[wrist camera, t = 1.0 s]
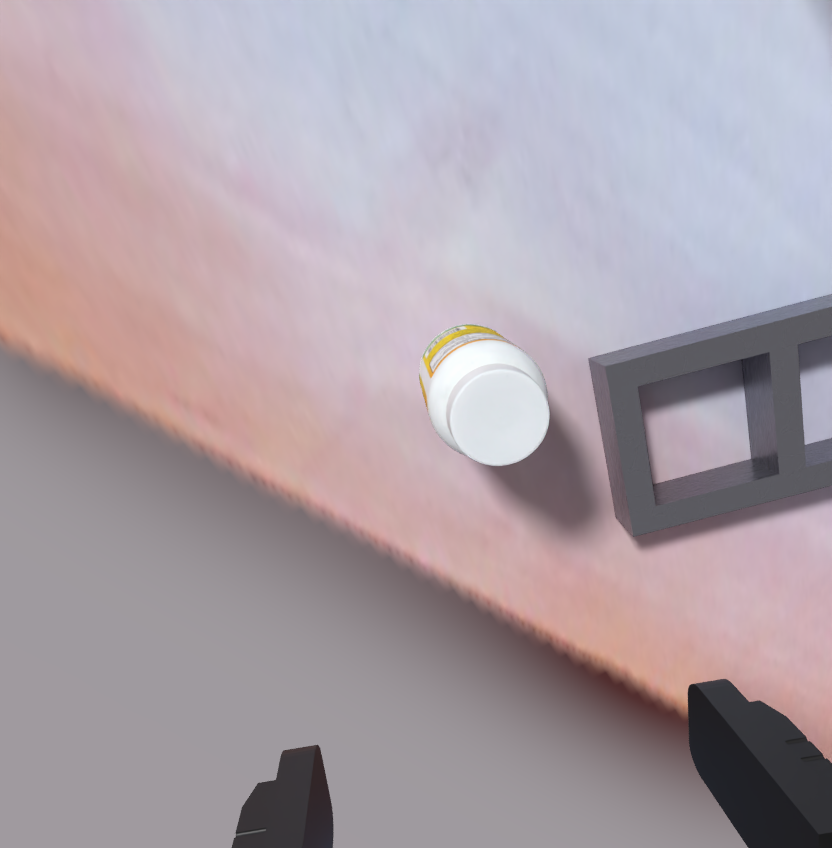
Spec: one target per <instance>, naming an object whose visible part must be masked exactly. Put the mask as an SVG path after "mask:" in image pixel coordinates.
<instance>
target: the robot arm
mask: <svg viewBox="0 0 832 848" xmlns="http://www.w3.org/2000/svg"><path fill="white" fill-rule="evenodd" d="M688 718H689V744H690V745H689V746H690V751H691V755H692V758H693V761H694V764H695V766H696V769H697V771H698V773H699V775H700V776H701V778H702V779H703V781H704V783H705V784H706V785H707V787H708V788H709V790H710V791H711V793H712V794H713V796H714V797H715V799H716V800H717V802H718V803H719V805H720V806H721V808H722V809H723V811H724V812H725V814H726V815H727V817H728V818H729V820H730V821H731V823H732V824H733V826H734V827H735V829H736V830H737V831H738V833H739V834H740V836H741V837H742V839H743V840H744V842H745V843H746V845H747V846H748V848H832V763H831V762H830V761H829V760H828V759H825V758H824V757H823V754H822V753H821V752H820V751H819V750H818V749H817V748H816V747H815V746H814V745H813V744H812V743H811V742H810V741H809V742H808V741H807V739H806V736H805V735H804V734H803V733H802V732H801V731H800V730H799V729H798V728H797V727H796V726H795V725H794V724H793V723H792V722H791V721H790V720H789V719H788V718H787V717H786V716H784V715H783V714H781V713H780V712H778V711H776V710H775V709H773V708H771V707H770V706H768V705H766V704H765V703H763V702H761V701H754V702H749V701H748V700H747V699H746V698H745V697H744V696H743V695H742V694H741V693H740V692H739V691H738V689H737V688H736V687H735V686H734V685H733V684H732V683H731V682H730V681H728V680H726V679H720V680H714V681H708V682H702V683H696V684H691V685H690V686H689V688H688ZM232 848H333V812H332V805H331V799H330V794H329V789H328V784H327V779H326V774H325V770H324V764H323V760H322V755H321V750H320V747H319V746H318V745H314V746H308V747H302V748H296V749H290V750H284V751H283V752H282V754H281V758H280V763H279V768H278V773H277V778H276V780H274V781H268V782H262V783H258V784H257V786H256V787H255V789H254V790H253V792H252V793H251V795H250V796H249V798H248V799H247V801H246V802H245V804H244V805H243V807H242V810H241V814H240V818H239V822H238V826H237V830H236V838H234V841H233V845H232Z"/></svg>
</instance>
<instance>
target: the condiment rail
mask: <svg viewBox="0 0 832 848" xmlns="http://www.w3.org/2000/svg"><path fill="white" fill-rule="evenodd" d="M828 336H832V294H831V295H827V296H823V297H819V298H815V299H812V300H808V301H804V302H800V303H796V304H793V305H789V306H785V307H781V308H777V309H774V310H770V311H766V312H762V313H759V314H755V315H751V316H747V317H743V318H740V319H736V320H732V321H728V322H724V323H721V324H717V325H713V326H709V327H706V328H702V329H698V330H694V331H690V332H687V333H683V334H679V335H675V336H671V337H668V338H664V339H660V340H656V341H652V342H649V343H645V344H641V345H637V346H634V347H630V348H626V349H622V350H618V351H615V352H611V353H607V354H603V355H599V356H596V357H592V358H588V359H589V365H590V370H591V376H592V382H593V388H594V393H595V399H596V405H597V411H598V417H599V422H600V428H601V434H602V440H603V445H604V451H605V457H606V463H607V469H608V474H609V480H610V486H611V492H612V497H613V503H614V509H615V515H616V518H617V519H618V520H619V521H620V523H621V524H622V525H623V526H624V527H625V528H626V529H627V530H628V531H629V532H630V534H631V535H632V536H633V537H634V536H638V535H642V534H646V533H649V532H653V531H657V530H661V529H665V528H669V527H673V526H677V525H680V524H684V523H688V522H692V521H696V520H700V519H704V518H708V517H711V516H715V515H719V514H723V513H727V512H731V511H735V510H739V509H742V508H746V507H750V506H754V505H758V504H762V503H766V502H770V501H773V500H777V499H781V498H785V497H789V496H793V495H797V494H800V493H804V492H808V491H812V490H816V489H820V488H824V487H828V486H831V485H832V438H831V439H827V440H823V441H819V442H816V443H812V444H808V445H805V444H804V430H803V415H802V400H801V385H800V370H799V355H798V344H802V343H805V342H809V341H813V340H817V339H821V338H824V337H828ZM741 359H742V365H743V375H744V386H745V396H746V407H747V417H748V427H749V438H750V448H751V459H750V460H746V461H742V462H739V463H735V464H731V465H727V466H723V467H719V468H715V469H712V470H708V471H704V472H700V473H696V474H692V475H689V476H685V477H681V478H677V479H673V480H669V481H665V482H662V483H658V484H654V485H652V478H651V471H650V465H649V458H648V451H647V445H646V438H645V431H644V425H643V418H642V411H641V405H640V398H639V391H638V386H642V385H646V384H649V383H653V382H657V381H661V380H665V379H668V378H672V377H676V376H680V375H684V374H687V373H691V372H695V371H699V370H703V369H707V368H710V367H714V366H718V365H722V364H726V363H729V362H733V361H737V360H741Z"/></svg>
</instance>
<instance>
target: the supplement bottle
mask: <svg viewBox="0 0 832 848" xmlns="http://www.w3.org/2000/svg"><path fill="white" fill-rule="evenodd" d="M419 379H420V385H421V389H422V393H423V396H424V399H425V403H426V407H427V410H428V414H429V417H430V420H431V423H432V425H433V427H434V429H435V431H436V433H437V434H438V435H439V437H440V438H441V439H442V440H443V441H444V442H445V443H446V444H447V445H448V446H449V447H451V448H452V449H454V450H455V451H457V452H459V453H461V454H463V455H466V456H468V457H469V458H471V459H473V460H474V461H476V462H479V463H482V464H485V465H490V466H504V465H509V464H513V463H516V462H519V461H521V460H523V459H524V458H526V457H528V456H529V455H530V454H531V453H533V452H534V451H535V450H536V449H537V448H538V446H539V445H540V444H541V442H542V441H543V439H544V437H545V435H546V432H547V429H548V426H549V419H550V412H549V405H548V396H547V387H546V383H545V379H544V377H543V374H542V372H541V370H540V369H539V367H538V365H537V364H536V363H535V362H534V360H533V359H532V358H531V357H530V356H529V355H528V354H527V353H525V352H524V351H523V350H522V349H520V348H519V347H517V346H516V345H514V344H513V343H511V342H510V341H508V340H507V339H505V338H504V337H502V336H501V335H500V334H498V333H497V332H495V331H494V330H492V329H490V328H487V327H485V326H481V325H476V324H462V325H457V326H454V327H451V328H448V329H446V330H445V331H443V332H441V333H440V334H438V335H437V336H436V337H435V338H434V339H433V340H432V341H431V342H430V343H429V345H428V346H427V348H426V349H425V351H424V353H423V355H422V358H421V362H420V367H419Z"/></svg>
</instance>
